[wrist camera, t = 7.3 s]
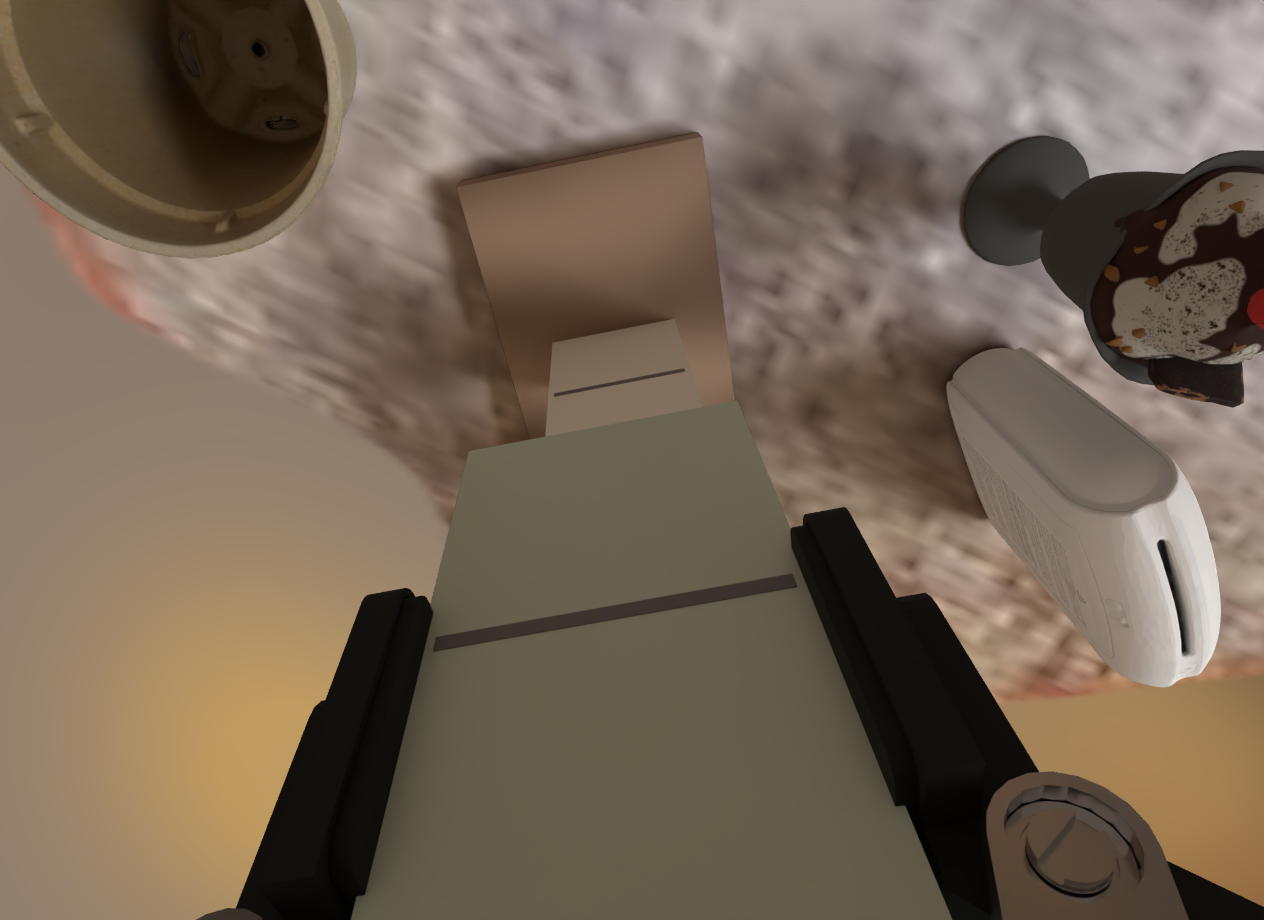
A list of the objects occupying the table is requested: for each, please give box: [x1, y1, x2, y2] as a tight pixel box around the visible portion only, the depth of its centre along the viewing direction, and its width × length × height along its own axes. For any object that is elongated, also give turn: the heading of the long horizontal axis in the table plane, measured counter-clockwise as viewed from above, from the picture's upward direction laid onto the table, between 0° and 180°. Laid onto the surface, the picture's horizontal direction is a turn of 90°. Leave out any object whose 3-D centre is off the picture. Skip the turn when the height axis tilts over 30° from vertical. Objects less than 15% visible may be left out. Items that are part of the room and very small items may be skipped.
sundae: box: [964, 136, 1264, 408], centre depth 23 cm, size 7×7×15 cm
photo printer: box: [946, 348, 1221, 687], centre depth 30 cm, size 10×4×12 cm, turn 28°
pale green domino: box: [351, 401, 952, 920], centre depth 10 cm, size 2×5×10 cm, turn 101°
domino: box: [545, 319, 703, 437], centre depth 26 cm, size 2×5×10 cm, turn 101°
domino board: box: [456, 132, 735, 439], centre depth 33 cm, size 23×9×1 cm, turn 10°
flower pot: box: [0, 0, 357, 259], centre depth 22 cm, size 9×9×9 cm
